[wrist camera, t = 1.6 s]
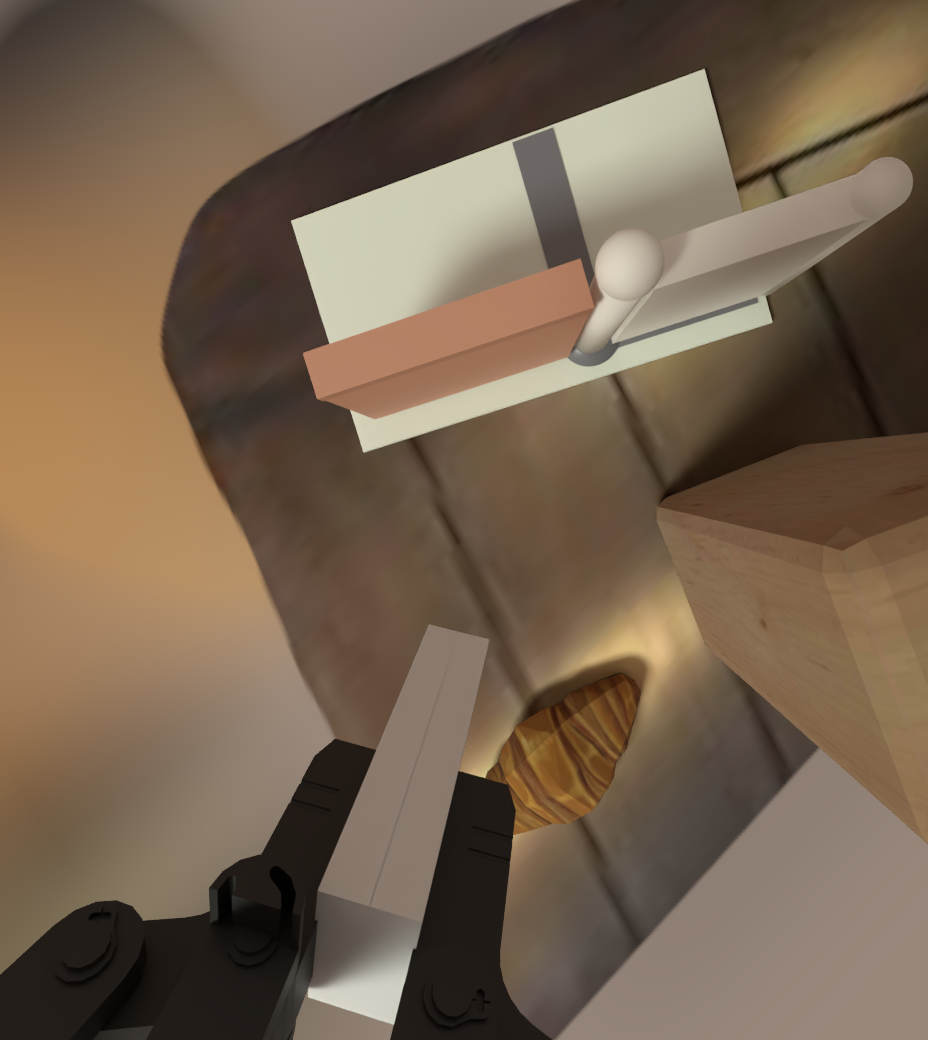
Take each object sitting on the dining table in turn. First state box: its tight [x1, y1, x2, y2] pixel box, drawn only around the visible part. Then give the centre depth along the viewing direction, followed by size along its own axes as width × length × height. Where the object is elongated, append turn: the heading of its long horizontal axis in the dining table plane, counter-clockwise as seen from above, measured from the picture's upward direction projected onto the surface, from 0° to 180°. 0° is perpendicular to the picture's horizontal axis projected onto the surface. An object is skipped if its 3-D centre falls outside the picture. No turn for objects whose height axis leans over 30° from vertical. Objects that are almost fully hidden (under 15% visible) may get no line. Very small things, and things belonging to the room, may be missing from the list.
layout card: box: [291, 69, 772, 452], centre depth 34 cm, size 25×14×1 cm, turn 107°
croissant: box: [486, 673, 640, 835], centre depth 34 cm, size 14×7×5 cm, turn 136°
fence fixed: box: [574, 157, 913, 354], centre depth 27 cm, size 12×3×13 cm, turn 107°
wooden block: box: [656, 433, 928, 844], centre depth 24 cm, size 10×10×20 cm
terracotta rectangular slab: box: [303, 258, 594, 419], centre depth 29 cm, size 12×2×10 cm, turn 107°
